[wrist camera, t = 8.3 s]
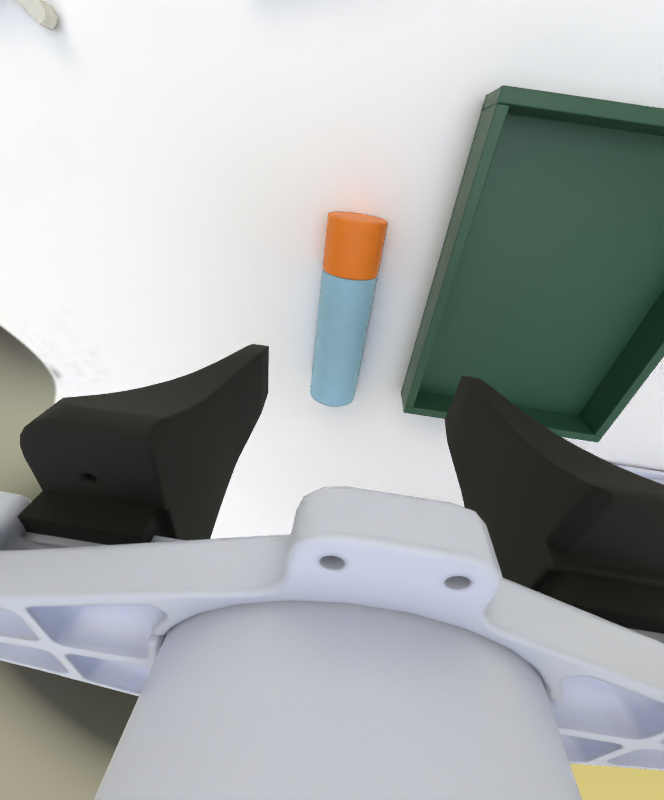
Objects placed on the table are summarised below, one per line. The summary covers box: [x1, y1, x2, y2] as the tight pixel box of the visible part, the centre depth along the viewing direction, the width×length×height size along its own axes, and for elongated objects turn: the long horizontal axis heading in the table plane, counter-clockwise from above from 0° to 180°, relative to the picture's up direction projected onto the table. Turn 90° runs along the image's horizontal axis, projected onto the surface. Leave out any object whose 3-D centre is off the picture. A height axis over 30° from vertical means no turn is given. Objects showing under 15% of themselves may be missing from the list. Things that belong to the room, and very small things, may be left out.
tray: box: [401, 86, 664, 442], centre depth 18 cm, size 15×12×2 cm
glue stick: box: [310, 212, 388, 407], centre depth 19 cm, size 10×3×3 cm
